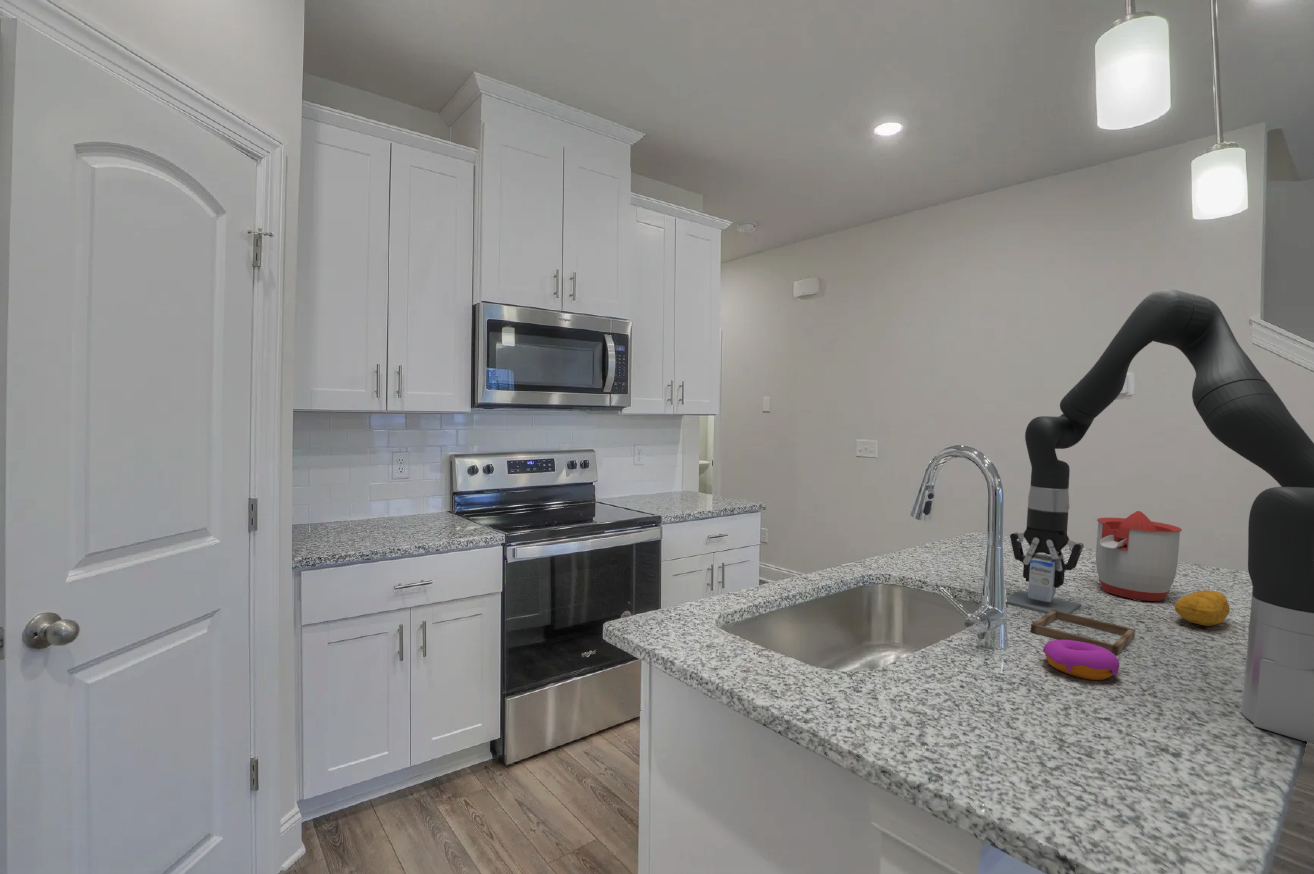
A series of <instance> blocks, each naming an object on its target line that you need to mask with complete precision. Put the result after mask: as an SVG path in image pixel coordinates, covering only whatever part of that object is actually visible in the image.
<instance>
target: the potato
mask: <svg viewBox="0 0 1314 874" xmlns="http://www.w3.org/2000/svg"><path fill="white" fill-rule="evenodd" d="M1174 610H1175V613H1176V614H1177V615H1179V616H1180V618H1182V619H1184V620H1186V621H1188V622H1189V623H1191V624H1192V623H1193V624H1195V625H1201V626H1205V627H1206V626H1207V627H1211V626H1212V627H1213V626H1215V625H1218V624H1219V625H1220V624H1222V623H1224V622H1225V620H1226V618H1227V617H1228V615H1230V604H1229V602H1228V599H1227V596H1226V595H1224V594H1223V593H1222V592H1220V591H1216V590H1204V589H1203V590H1202V589H1201V590H1197V591H1196V592H1195V591H1194V592H1191V593H1188V594H1186V595H1184V596H1182V597H1181V598H1179V599H1177V601H1176V602H1175V603H1174Z"/></svg>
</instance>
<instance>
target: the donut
mask: <svg viewBox="0 0 1314 874" xmlns="http://www.w3.org/2000/svg"><path fill="white" fill-rule="evenodd" d="M1042 652H1043V653H1044V655H1045V659H1046V660H1047V662H1048V663H1049V665H1051V667H1052V668H1054V669H1056V670H1058V671H1061V672H1062V673H1065V674H1068V675H1070V676H1073V677H1077V678H1081V679H1085V680H1090V681H1102V680H1107V679H1109V678H1111V677H1112V676H1116V675H1119V670H1120V660H1119V659H1118V657H1117V655H1114V654H1113V653H1112V652H1110V651H1109V650H1107V649H1105V648H1102V647H1100V646H1097V645H1093V644H1089V643H1085V642H1080V641H1073V640H1059V639H1054V640H1050V641H1048V642H1046V643H1045V644H1044V645H1043V649H1042Z"/></svg>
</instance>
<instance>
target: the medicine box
mask: <svg viewBox="0 0 1314 874" xmlns="http://www.w3.org/2000/svg"><path fill="white" fill-rule="evenodd" d="M1055 570H1056V567H1055V562H1054V561H1053V560H1052V557H1051V555H1048V554H1045V553H1037V555H1035V556H1034V557H1033V558H1032V559H1031V561H1030V573H1029V582H1028V591H1027V592H1028V598H1030V599H1035V600H1040V601H1045V602H1051V601H1052V599H1053V598H1055V595H1056V592H1057V588H1055V587H1054V576H1055Z"/></svg>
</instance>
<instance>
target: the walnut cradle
mask: <svg viewBox="0 0 1314 874" xmlns="http://www.w3.org/2000/svg"><path fill="white" fill-rule="evenodd" d="M1055 620H1060V621H1064V622H1067V623H1068V622H1069V623H1071V624H1076V625H1080V626H1083V627H1088V628H1092V629H1096V630H1100V631H1103V632H1108V633H1111V634H1116V635H1119V634H1120V637H1119V638H1118V639H1117V640H1116V641H1115V643H1113V644H1112V643H1108V642H1104V641H1102V640H1097V639H1094V638H1090V637H1086V636H1083V635H1080V634H1079V635H1078V634H1075V633H1072V632H1066V631H1063V630H1059V629H1056V628H1051V627H1048V625H1049V624H1050V623H1052V622H1054V621H1055ZM1030 633H1032V634H1033V633H1034V634H1036V635H1041V636H1044V637H1047V638H1052V639H1054V640H1073V641H1080V642H1085V643H1089V644H1093V645H1097V646H1100V647H1102V648H1105V649H1107V650H1109V651H1110V652H1112V653H1113V654H1114V655H1115V656H1118V655H1119V654H1120V653H1121V652H1122V651H1123V650H1124V649H1125V648H1126V647H1127V646H1128V645H1129V644H1130V642H1131V641H1132V640H1133V639H1134V638H1135V634H1136V629H1135V628H1131V627H1127V626H1122V625H1119V624H1115V623H1109V622H1107V621H1106V622H1105V621H1101V620H1098V619H1094V618H1090V617H1085V616H1081V615H1077V614H1073V613H1071V614H1069V613H1065V612H1061V611H1057V610H1052V611H1050V612H1049V613H1047V614H1046V613H1045V614H1044V615H1043V616H1041V617H1040V618H1038V619H1037V620H1035V621H1034V622H1032V623H1031V624H1030ZM1127 644H1128V645H1127Z"/></svg>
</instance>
